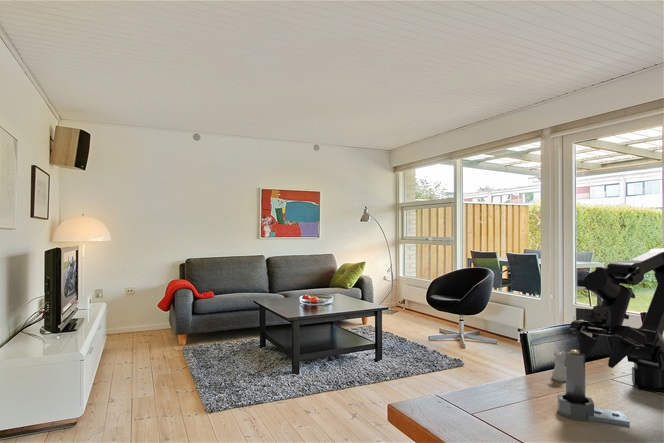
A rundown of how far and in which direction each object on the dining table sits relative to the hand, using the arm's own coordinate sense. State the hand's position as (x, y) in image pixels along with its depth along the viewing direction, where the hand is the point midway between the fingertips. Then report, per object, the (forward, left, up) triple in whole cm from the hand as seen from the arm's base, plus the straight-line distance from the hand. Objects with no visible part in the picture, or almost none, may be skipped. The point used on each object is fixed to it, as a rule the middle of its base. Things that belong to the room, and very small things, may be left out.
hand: (595, 363), depth 107 cm
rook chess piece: (+6, -15, -10) cm, 19 cm away
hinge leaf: (+3, +10, -10) cm, 14 cm away
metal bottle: (+6, +10, -9) cm, 14 cm away
